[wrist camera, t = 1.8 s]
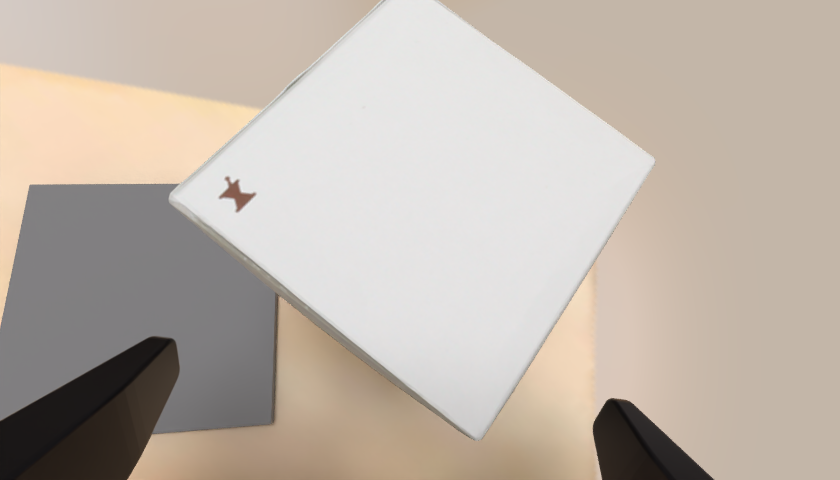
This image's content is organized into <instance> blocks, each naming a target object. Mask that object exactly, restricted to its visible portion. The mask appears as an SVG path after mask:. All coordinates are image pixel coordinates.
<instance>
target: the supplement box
mask: <svg viewBox="0 0 840 480" xmlns="http://www.w3.org/2000/svg"><path fill="white" fill-rule="evenodd" d="M654 166H655V158H654V157H652V156H651V155H649V154H648V153H647V152H645V151H644V150H643V149H641V148H640V147H639V146H637V145H636V144H635V143H633V142H632V141H631V140H629V139H628V138H627V137H625V136H624V135H622V134H621V133H619V132H618V131H617V130H616V129H614V128H613V127H612V126H610V125H609V124H607V123H606V122H605V121H603V120H602V119H601V118H599V117H598V116H596V115H595V114H593V113H592V112H591V111H589V110H588V109H587V108H585V107H584V106H582V105H581V104H579V103H578V102H577V101H575V100H574V99H573V98H571V97H570V96H569V95H567V94H566V93H564V92H563V91H562V90H560V89H559V88H558V87H556V86H555V85H553V84H552V83H551V82H549V81H548V80H547V79H545V78H544V77H542V76H541V75H539V74H538V73H537V72H535V71H534V70H533V69H531V68H530V67H528V66H527V65H525V64H524V63H523V62H521V61H520V60H518V59H517V58H516V57H514V56H513V55H511V54H510V53H508V52H507V51H505V50H504V49H503V48H501V47H500V46H498V45H497V44H495V43H494V42H493V41H491V40H490V39H488V38H487V37H486V36H484V35H483V34H482V33H480V32H479V31H478V30H476V29H475V28H474V27H472V26H471V25H470V24H469V23H467V22H466V21H465V20H463V19H462V18H461V17H460V16H458V15H457V14H456V13H454V12H453V11H451V10H450V9H449V8H448V7H446V6H445V5H444V4H442V3H441V2H440V1H438V0H381V1H380V2H379V3H378V4H377V5H376V6H375V7H374V8H373V9H372V10H371V11H370V12H369V13H368V14H367V15H366V16H365V17H364V18H362V19H361V20H360V21H359V22H358V23H357V24H356V25H354V26H353V27H352V28H351V29H350V30H349V31H348V32H347V33H346V34H345V35H344V36H342V37H341V38H340V39H339V40H338V41H337V42H336V43H335V44H334V45H333V46H332V47H331V48H329V49H328V50H327V51H326V52H325V53H324V54H323V55H322V56H321V57H320V58H319V59H317V60H316V61H315V62H314V63H313V64H312V65H311V66H309V67H308V68H307V69H306V70H305V71H304V72H302V73H301V74H300V75H298V76H297V77H296V78H295V79H294V80H293V81H292V82H291V83H290V84H288V85H287V86H286V88H285V89H284V90H283V91H282V92H281V93H280V94H279V95H278V96H277V97H276V98H275V99H274V100H273V101H272V102H271V103H269V104H268V105H267V106H266V107H265V108H264V109H263V110H262V111H260V112H259V113H258V114H257V115H256V116H255V117H254V118H253V119H252V120H251V121H250V122H249V123H248V124H247V125H245V126H244V127H243V128H242V129H241V130H240V131H239V132H238V133H237V134H236V135H234V136H233V137H232V138H231V139H230V140H229V141H228V142H227V143H226V144H225V145H223V146H222V147H221V148H220V149H219V150H218V151H217V152H216V153H215V154H213V155H212V156H211V157H210V158H209V159H208V160H207V161H206V162H205V163H204V164H203V165H202V166H200V167H199V168H198V169H197V170H196V171H195V172H194V173H193V174H192V175H190V176H189V177H188V178H187V179H186V180H184V181H183V182H182V183H180V184H179V185H178V186H177V187H176V188H175V189H174V190H173V191H172V192H171V193H170V195H169V203H170V204H171V205H172V206H173V207H174V208H176V209H177V210H178V211H179V212H180V213H181V214H183V215H184V216H185V217H186V218H187V219H188V220H190V221H191V222H192V223H193V224H194V225H196V226H197V227H198V228H199V229H200V230H201V231H203V232H204V233H205V234H206V235H207V236H209V237H210V238H211V239H212V240H213V241H214V242H216V243H217V244H218V245H219V246H220V247H222V248H223V249H224V250H225V251H226V252H228V253H229V254H230V255H231V256H232V257H234V258H235V259H236V260H237V261H238V262H240V263H241V264H242V265H243V266H244V267H245V268H247V269H248V270H249V271H250V272H251V273H253V274H254V275H255V276H256V277H257V278H259V279H260V280H261V281H262V282H263V283H265V284H266V285H267V286H268V287H269V288H271V289H272V290H273V291H274V292H276V293H277V294H278V295H279V296H281V297H282V298H283V299H284V300H286V301H287V302H288V303H289V304H291V305H292V306H293V307H294V308H296V309H297V310H298V311H299V312H301V313H302V314H303V315H304V316H306V317H307V318H308V319H309V320H311V321H312V322H313V323H314V324H316V325H317V326H318V327H320V328H321V329H322V330H323V331H325V332H326V333H327V334H328V335H330V336H331V337H332V338H334V339H335V340H336V341H337V342H339V343H340V344H341V345H342V346H344V347H345V348H346V349H348V350H349V351H350V352H352V353H353V354H354V355H356V356H357V357H358V358H360V359H361V360H362V361H364V362H365V363H366V364H368V365H369V366H370V367H372V368H373V369H374V370H376V371H377V372H378V373H380V374H381V375H382V376H384V377H385V378H387V379H388V380H389V381H391V382H392V383H393V384H395V385H396V386H397V387H399V388H400V389H401V390H403V391H404V392H406V393H407V394H408V395H410V396H411V397H413V398H414V399H415V400H417V401H418V402H420V403H421V404H422V405H424V406H425V407H427V408H428V409H429V410H431V411H432V412H434V413H435V414H436V415H438V416H439V417H441V418H442V419H443V420H445V421H446V422H447V423H449V424H450V425H452V426H453V427H454V428H456V429H457V430H458V431H460V432H461V433H463V434H464V435H466V436H468V437H469V438H471V439H473V440H475V441H479V440H482V438H483V437H484V435H485V434H486V432H487V431H488V429H489V428H490V426H491V425H492V423H493V422H494V420H495V419H496V417H497V415H498V414H499V412H500V411H501V409H502V408H503V406H504V405H505V403H506V402H507V400H508V399H509V397H510V396H511V394H512V393H513V391H514V389H515V388H516V386H517V385H518V383H519V381H520V380H521V378H522V377H523V375H524V374H525V372H526V371H527V369H528V368H529V366H530V364H531V363H532V361H533V360H534V358H535V356H536V355H537V353H538V352H539V350H540V348H541V347H542V345H543V344H544V342H545V340H546V339H547V337H548V336H549V334H550V332H551V331H552V329H553V328H554V326H555V324H556V323H557V321H558V320H559V318H560V316H561V315H562V313H563V312H564V310H565V309H566V307H567V305H568V304H569V302H570V301H571V299H572V297H573V296H574V294H575V293H576V291H577V289H578V288H579V286H580V285H581V283H582V281H583V280H584V278H585V277H586V275H587V273H588V272H589V270H590V269H591V267H592V266H593V264H594V262H595V261H596V259H597V258H598V256H599V254H600V253H601V251H602V249H603V248H604V246H605V245H606V243H607V242H608V240H609V238H610V237H611V235H612V233H613V232H614V230H615V228H616V227H617V225H618V224H619V222H620V220H621V219H622V217H623V215H624V214H625V212H626V211H627V209H628V207H629V205H630V204H631V202H632V201H633V199H634V197H635V196H636V194H637V193H638V191H639V189H640V188H641V186H642V184H643V183H644V181H645V179H646V178H647V176H648V174H649V173H650V172H651V170H652V169H653V167H654Z"/></svg>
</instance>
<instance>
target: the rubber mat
mask: <svg viewBox="0 0 840 480" xmlns="http://www.w3.org/2000/svg"><path fill="white" fill-rule="evenodd" d="M178 185H179V184H71V185H30V186H29V191H28V196H27V201H26V206H25V210H24V215H23V220H22V225H21V230H20V235H19V240H18V244H17V249H16V254H15V259H14V264H13V269H12V274H11V279H10V283H9V288H8V293H7V298H6V303H5V308H4V313H3V317H2V322H1V327H0V420H2V419H4V418H6V417H7V416H9V415H11V414H13V413H14V412H16V411H18V410H20V409H22V408H23V407H25V406H27V405H29V404H31V403H32V402H34V401H36V400H38V399H39V398H41V397H43V396H45V395H47V394H48V393H50V392H52V391H54V390H55V389H57V388H59V387H61V386H63V385H64V384H66V383H68V382H70V381H71V380H73V379H75V378H77V377H79V376H80V375H82V374H84V373H86V372H87V371H89V370H91V369H93V368H95V367H96V366H98V365H100V364H102V363H103V362H105V361H107V360H109V359H111V358H112V357H114V356H116V355H118V354H120V353H121V352H123V351H125V350H127V349H128V348H130V347H132V346H134V345H136V344H137V343H139V342H141V341H143V340H144V339H146V338H148V337H151V336H161V337H168V338H173V339H174V340H175V341H176V344H177V350H178V357H179V364H180V373H179V376H178V379H177V382H176V384H175V386H174V388H173V390H172V392H171V394H170V396H169V399H168V401H167V403H166V405H165V407H164V409H163V411H162V413H161V416H160V418H159V420H158V422H157V424H156V426H155V428H154V430H153V433H152V434H157V433H169V432H181V431H193V430H205V429H218V428H230V427H242V426H254V425H266V424H272V423H273V422H274V394H275V363H276V332H277V301H278V294H277V293H276V292H274V291H273V290H272V289H271V288H269V287H268V286H267V285H266V284H265V283H263V282H262V281H261V280H260V279H259V278H257V277H256V276H255V275H254V274H253V273H251V272H250V271H249V270H248V269H247V268H245V267H244V266H243V265H242V264H241V263H240V262H238V261H237V260H236V259H235V258H234V257H232V256H231V255H230V254H229V253H228V252H226V251H225V250H224V249H223V248H222V247H220V246H219V245H218V244H217V243H216V242H214V241H213V240H212V239H211V238H210V237H209V236H207V235H206V234H205V233H204V232H203V231H201V230H200V229H199V228H198V227H197V226H196V225H194V224H193V223H192V222H191V221H190V220H188V219H187V218H186V217H185V216H184V215H183V214H181V213H180V212H179V211H178V210H177V209H176V208H174V207H173V206H172V205H171V204H170V203H169V195H170V193H171V192H172V191H173V190H174V189H175V188H176V187H177V186H178Z"/></svg>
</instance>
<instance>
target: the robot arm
mask: <svg viewBox="0 0 840 480" xmlns="http://www.w3.org/2000/svg"><path fill="white" fill-rule="evenodd" d="M179 373H180V364H179V357H178V350H177V344H176V341H175V340H174V339H173V338H168V337H161V336H151V337H148V338H146V339H144V340H143V341H141V342H139V343H137V344H136V345H134V346H132V347H130V348H128V349H127V350H125V351H123V352H121V353H120V354H118V355H116V356H114V357H112V358H111V359H109V360H107V361H105V362H103V363H102V364H100V365H98V366H96V367H95V368H93V369H91V370H89V371H87V372H86V373H84V374H82V375H80V376H79V377H77V378H75V379H73V380H71V381H70V382H68V383H66V384H64V385H63V386H61V387H59V388H57V389H55V390H54V391H52V392H50V393H48V394H47V395H45V396H43V397H41V398H39V399H38V400H36V401H34V402H32V403H31V404H29V405H27V406H25V407H23V408H22V409H20V410H18V411H16V412H14V413H13V414H11V415H9V416H7V417H6V418H4V419H2V420H0V480H127V479H128V478H129V476H130V474H131V473H132V471H133V469H134V467H135V466H136V464H137V462H138V460H139V459H140V457H141V455H142V453H143V451H144V449H145V447H146V445H147V443H148V441H149V439H150V437H151V435H152V433H153V430H154V428H155V426H156V424H157V422H158V420H159V418H160V416H161V413H162V411H163V409H164V407H165V405H166V403H167V401H168V399H169V396H170V394H171V392H172V390H173V388H174V386H175V384H176V382H177V379H178V376H179ZM593 436H594V441H595V446H596V451H597V456H598V461H599V466H600V471H601V476H602V480H714V479H713V478H712V477H711V476H710V475H709V474H707V473H706V472H705V471H704V470H703V469H702V468H701V467H700V466H699V465H698V464H697V463H696V462H695V461H694V460H692V459H691V458H690V457H689V456H688V455H687V454H686V453H685V452H684V451H683V450H682V449H681V448H680V447H679V446H677V445H676V444H675V443H674V442H673V441H672V440H671V439H670V438H669V437H668V436H667V435H666V434H665V433H664V432H663V431H661V430H660V429H659V428H658V427H657V426H656V425H655V424H654V423H653V422H652V421H651V420H650V419H648V417H646V416H645V415H644V414H643V413H642V412H641V411H640V410H639V409H638V408H637V407H636V406H635V405H634V404H632V403H631V402H630V401H627V400H622V399H614V398H611V399H608V400H607V401H606V403H605V404H604V406H603V408H602V409H601V411H600V412H599V414H598V416H597V417H596V419H595V421H594V424H593Z"/></svg>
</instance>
